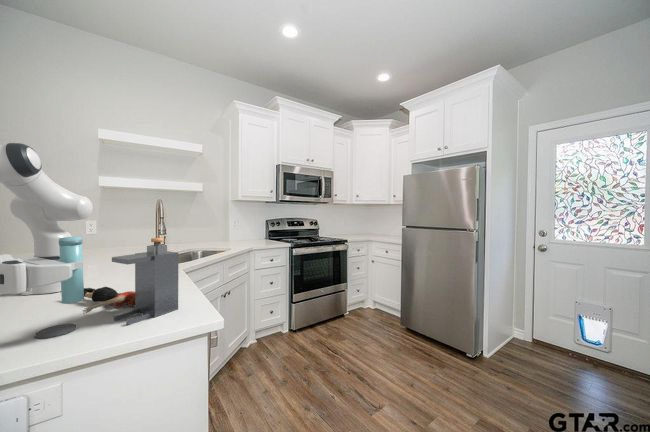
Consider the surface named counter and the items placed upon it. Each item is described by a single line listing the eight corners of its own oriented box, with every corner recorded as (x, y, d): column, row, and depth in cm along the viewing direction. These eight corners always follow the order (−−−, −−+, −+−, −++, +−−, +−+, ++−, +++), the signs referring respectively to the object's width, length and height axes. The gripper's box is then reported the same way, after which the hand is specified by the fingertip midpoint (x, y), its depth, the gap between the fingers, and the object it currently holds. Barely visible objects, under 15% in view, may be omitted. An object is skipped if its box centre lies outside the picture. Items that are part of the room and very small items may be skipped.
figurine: (22, 314, 86) (97, 325, 79) (22, 297, 86) (97, 306, 79) (112, 288, 114) (172, 295, 107) (112, 275, 114) (173, 281, 107)
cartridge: (57, 302, 72) (54, 238, 71) (78, 296, 76) (76, 236, 75) (67, 305, 70) (64, 239, 69) (88, 299, 74) (86, 237, 73)
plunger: (148, 252, 89) (148, 238, 89) (158, 250, 92) (158, 237, 92) (155, 252, 87) (155, 239, 87) (165, 251, 90) (165, 238, 90)
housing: (110, 320, 82) (109, 248, 81) (159, 304, 96) (159, 243, 95) (130, 326, 78) (129, 251, 77) (178, 309, 92) (178, 245, 91)
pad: (29, 334, 72) (29, 332, 72) (67, 323, 79) (67, 321, 79) (43, 341, 69) (43, 339, 69) (82, 328, 76) (82, 326, 76)
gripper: (-20, 282, 65) (56, 270, 77) (19, 295, 56) (97, 279, 69) (-21, 256, 65) (55, 248, 77) (18, 265, 56) (96, 254, 69)
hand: (75, 263), depth 73 cm, fingers closed on cartridge, 4 cm apart
